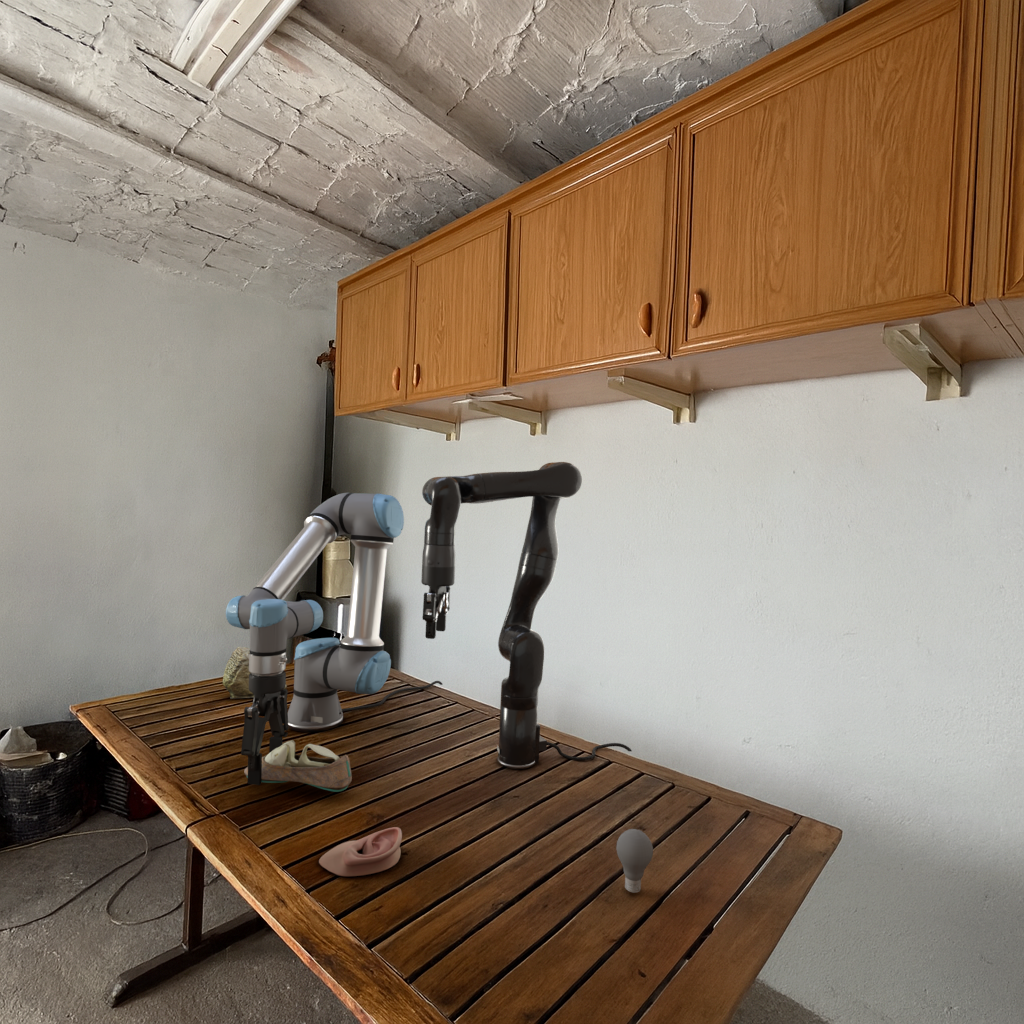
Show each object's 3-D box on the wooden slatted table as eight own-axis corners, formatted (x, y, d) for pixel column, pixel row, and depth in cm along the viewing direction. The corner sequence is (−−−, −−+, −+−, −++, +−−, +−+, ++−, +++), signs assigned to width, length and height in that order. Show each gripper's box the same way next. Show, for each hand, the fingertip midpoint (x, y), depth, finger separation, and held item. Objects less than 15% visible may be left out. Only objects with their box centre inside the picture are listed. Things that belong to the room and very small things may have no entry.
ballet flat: (256, 766, 143) (257, 730, 143) (360, 778, 139) (361, 741, 139) (235, 783, 135) (236, 745, 134) (344, 795, 131) (345, 756, 131)
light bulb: (610, 879, 108) (613, 822, 108) (644, 879, 109) (647, 822, 109) (619, 902, 102) (622, 840, 102) (655, 901, 103) (658, 840, 103)
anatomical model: (310, 847, 107) (342, 815, 118) (309, 871, 107) (341, 836, 118) (384, 860, 104) (409, 825, 116) (383, 884, 104) (408, 847, 116)
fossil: (218, 695, 195) (220, 647, 195) (278, 685, 208) (279, 640, 207) (228, 703, 189) (230, 653, 188) (289, 692, 201) (290, 645, 201)
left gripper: (257, 687, 127) (254, 799, 127) (306, 660, 147) (303, 756, 148) (222, 684, 128) (220, 795, 129) (276, 657, 148) (274, 753, 149)
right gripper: (446, 568, 137) (443, 642, 137) (461, 562, 151) (458, 629, 151) (413, 566, 138) (410, 639, 139) (431, 560, 152) (428, 627, 153)
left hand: (265, 774), depth 138 cm, fingers closed on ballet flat, 8 cm apart
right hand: (435, 634), depth 145 cm, fingers open, 8 cm apart
